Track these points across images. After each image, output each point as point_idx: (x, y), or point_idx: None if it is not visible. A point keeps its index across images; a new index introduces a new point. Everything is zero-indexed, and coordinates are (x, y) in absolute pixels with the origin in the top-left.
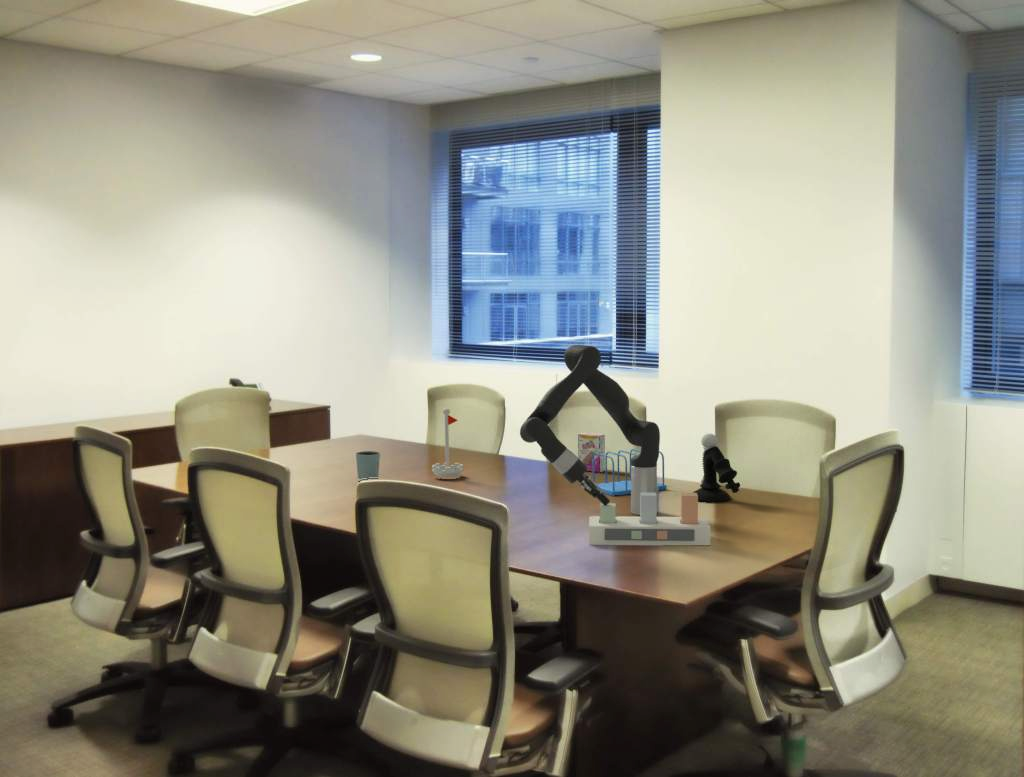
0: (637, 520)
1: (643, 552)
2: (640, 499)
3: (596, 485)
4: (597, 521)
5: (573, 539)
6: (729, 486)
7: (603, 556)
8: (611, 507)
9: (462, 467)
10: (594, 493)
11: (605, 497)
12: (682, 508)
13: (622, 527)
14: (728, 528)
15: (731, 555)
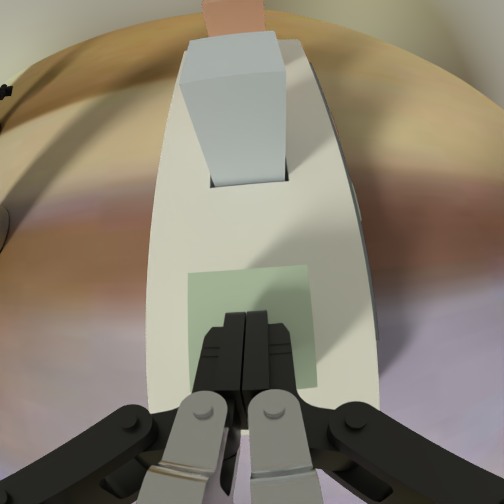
0: (228, 193)
1: (411, 206)
2: (223, 106)
3: (275, 494)
4: None
5: None
6: (4, 92)
7: (476, 321)
8: (310, 297)
9: None
10: (352, 465)
11: (269, 346)
12: None
13: (362, 253)
14: (143, 70)
15: (361, 60)
